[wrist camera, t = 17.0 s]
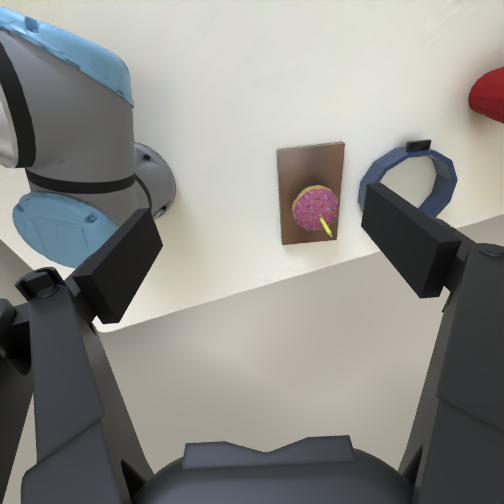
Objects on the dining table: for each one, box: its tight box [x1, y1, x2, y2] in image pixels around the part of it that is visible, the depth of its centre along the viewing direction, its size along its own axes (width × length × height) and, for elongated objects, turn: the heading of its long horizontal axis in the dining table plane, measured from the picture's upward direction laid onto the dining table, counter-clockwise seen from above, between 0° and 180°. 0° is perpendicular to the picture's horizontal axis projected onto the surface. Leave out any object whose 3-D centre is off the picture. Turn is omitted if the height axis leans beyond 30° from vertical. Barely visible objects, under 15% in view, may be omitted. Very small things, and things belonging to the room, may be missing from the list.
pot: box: [358, 139, 457, 217], centre depth 48 cm, size 16×19×4 cm
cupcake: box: [292, 185, 339, 237], centre depth 44 cm, size 9×8×12 cm
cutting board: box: [277, 142, 345, 245], centre depth 50 cm, size 12×20×2 cm, turn 6°
